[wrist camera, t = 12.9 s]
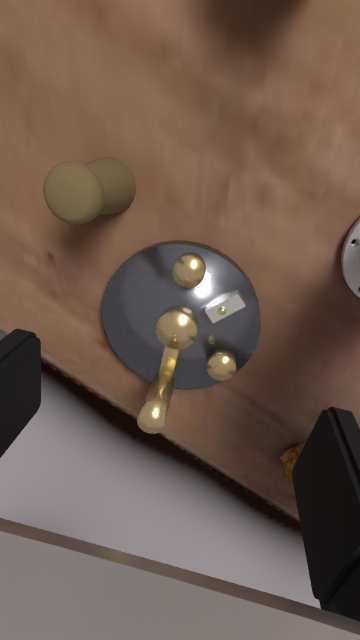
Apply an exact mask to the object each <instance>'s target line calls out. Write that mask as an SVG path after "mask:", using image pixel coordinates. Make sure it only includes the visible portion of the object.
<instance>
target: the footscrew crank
mask: <svg viewBox="0 0 360 640" xmlns="http://www.w3.org/2000/svg"><path fill="white" fill-rule="evenodd" d="M197 331H198V320H197V318H196V316H195V315H194V313H193V312H192V311H190V310H189V309H187V308H185V307H181V306H173V307H170V308H168V309H166V310H165V311H164V312H163V313H162V314H161V316H160V318H159V320H158V322H157V324H156V335H157V337H158V339H159V341H160V342H161V343H162V344H163V345H165V348H164V353H163V357H162V361H161V366H160V370H159V372H157V373H156V374H155V375H154V377H153V380H152V382H151V385H150V388H149V390H148V393H147V396H146V398H145V401H144V404H143V406H142V409H141V411H140V414H139V417H138V420H137V423H138V426H139V427H140V429H142V430H143V431H144V432H147V433H151V434H155V433H158V432H160V431H161V430H162V429H163V427H164V423H165V419H166V416H167V412H168V408H169V405H170V401H171V397H172V394H173V390H174V386H175V378H174V376H173V372H174V369H175V365H176V361H177V357H178V353H179V349H185V348H187V347H189V346H190V345H191V344H192V343H193V342H194V341H195V339H196V335H197Z"/></svg>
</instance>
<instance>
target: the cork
mask: <svg viewBox="0 0 360 640" xmlns="http://www.w3.org/2000/svg"><path fill="white" fill-rule="evenodd" d="M43 191H44V198H45V201H46V203H47V206H48V208H49V209H50V210H51V212H52V213H53V214H54V215H55V216H56V217H57V218H59V219H60V220H61V221H64V222H66V223H69V224H76V225H81V224H85V223H88V222H90V221H92V220H93V219H94V218H96V217H97V216H98V215H107V214H117V213H121V212H123V211H125V210H126V209H127V208H129V206H130V205H131V203H132V202H133V200H134V196H135V181H134V178H133V174H132V173H131V171H130V170H129V168H128V167H127V166H126V165H125V164H124V163H123V162H121V161H120V160H117V159H115V158H113V157H103V158H100V159H97V160H95V161H92V162H90V163H88V164H85V165H83V164H80V163H78V162H64V163H61V164H58V165H56V166H55V167H54V168H53V169H51V170H50V171H49V172H48V174H47V176H46V178H45V180H44V187H43Z"/></svg>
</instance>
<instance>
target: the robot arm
mask: <svg viewBox="0 0 360 640" xmlns="http://www.w3.org/2000/svg"><path fill="white" fill-rule="evenodd" d="M353 239H355V242H354V243H351V241H352V240H353ZM341 268H342V274H343V276H344V279H345V281H346V283H347V284H348V286H349V287H350V289H351V290H352V291H353V292H354V293H355V294H356V295H357V296H358V297H359V298H360V289H358V288H359V287H360V218H359V219H358V220H357V221H356V223H355V224H354V225H353V227H352V228H351V230H350V231H349V233H348V235H347V237H346V240H345V242H344V245H343V249H342V253H341ZM40 403H41V342H40V339H39V338H37V337H36V334H35V333H33V332H29V331H25V330H21V329H15V330H13V331H12V332H11V333H10V334H8V335H7V336H6V337H4V338H3V339H2V340H0V458H1V456H2V455H3V454H4V453H5V451H6V450H7V449H8V448H9V446H10V445H11V444H12V443H13V441H14V440H15V439H16V437H17V436H18V435H19V434H20V432H21V431H22V429H24V427H25V426H26V425H27V423H28V422H29V421H30V420H31V418H32V417H33V416H34V415H35V413H36V412H37V411H38V409H39V407H40ZM292 478H293V484H294V490H295V496H296V501H297V507H298V513H299V518H300V524H301V530H302V535H303V541H304V547H305V552H306V557H307V563H308V569H309V575H310V580H311V586H312V591H313V595H314V597H315V598H316V599H319V601H320V605H321V609H319V608H316V607H313V606H309V605H306V604H303V603H299V602H296V601H293V600H289V599H286V598H283V597H280V596H276V595H273V594H269V593H266V592H262V591H258V590H255V589H252V588H248V587H245V586H241V585H238V584H234V583H231V582H227V581H224V580H220V579H217V578H213V577H210V576H206V575H203V574H199V573H196V572H192V571H189V570H185V569H182V568H178V567H174V566H171V565H168V564H164V563H160V562H157V561H153V560H150V559H146V558H143V557H139V556H136V555H132V554H129V553H125V552H121V551H118V550H114V549H111V548H107V547H103V546H100V545H96V544H93V543H89V542H85V541H82V540H78V539H75V538H71V537H67V536H64V535H60V534H57V533H53V532H49V531H46V530H42V529H38V528H35V527H31V526H27V525H24V524H20V523H16V522H12V521H9V520H5V519H2V518H0V640H360V429H359V427H358V424H357V422H356V420H355V418H354V416H353V414H352V412H350V411H347V410H343V409H339V408H335V407H330V408H329V409H328V410H323V411H322V412H321V414H320V416H319V418H318V420H317V422H316V424H315V426H314V428H313V430H312V432H311V434H310V436H309V438H308V440H307V442H306V443H305V445H304V447H303V449H302V451H301V453H300V455H299V457H298V459H297V461H296V463H295V465H294V468H293V472H292Z"/></svg>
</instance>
